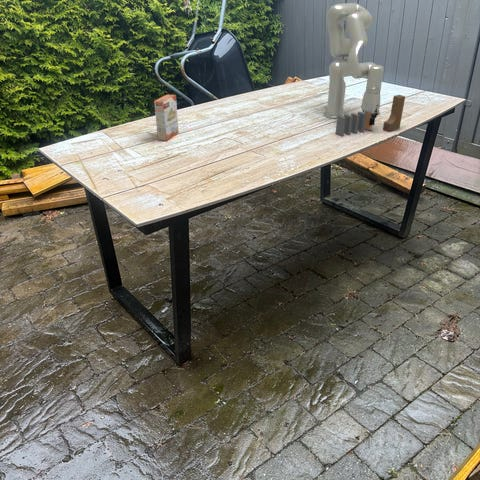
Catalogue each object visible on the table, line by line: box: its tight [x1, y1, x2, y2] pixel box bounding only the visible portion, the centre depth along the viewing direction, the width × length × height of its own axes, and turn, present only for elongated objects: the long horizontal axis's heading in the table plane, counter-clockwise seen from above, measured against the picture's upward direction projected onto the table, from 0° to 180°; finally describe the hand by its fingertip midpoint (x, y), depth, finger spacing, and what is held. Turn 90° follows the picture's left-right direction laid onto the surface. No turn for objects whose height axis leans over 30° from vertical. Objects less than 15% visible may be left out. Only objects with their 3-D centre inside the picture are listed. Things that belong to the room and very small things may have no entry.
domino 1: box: [335, 115, 346, 137], centre depth 243 cm, size 5×2×10 cm, turn 26°
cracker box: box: [153, 94, 179, 142], centre depth 241 cm, size 14×6×21 cm, turn 160°
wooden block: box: [382, 94, 406, 133], centre depth 247 cm, size 9×4×18 cm, turn 123°
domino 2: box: [344, 113, 353, 136], centre depth 245 cm, size 5×2×10 cm, turn 26°
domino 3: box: [350, 112, 359, 134], centre depth 246 cm, size 5×2×10 cm, turn 26°
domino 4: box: [357, 111, 366, 133], centre depth 248 cm, size 5×2×10 cm, turn 26°
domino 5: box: [364, 112, 374, 131], centre depth 250 cm, size 5×2×10 cm, turn 26°
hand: (368, 123), depth 251 cm, fingers closed on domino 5, 4 cm apart
